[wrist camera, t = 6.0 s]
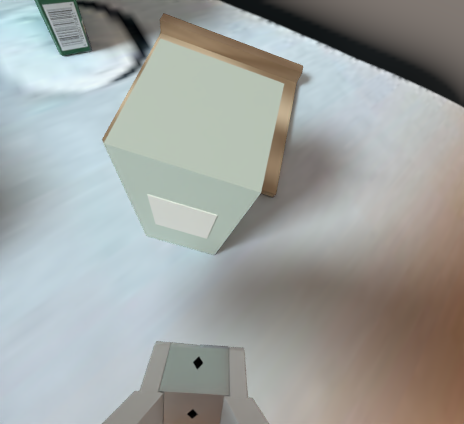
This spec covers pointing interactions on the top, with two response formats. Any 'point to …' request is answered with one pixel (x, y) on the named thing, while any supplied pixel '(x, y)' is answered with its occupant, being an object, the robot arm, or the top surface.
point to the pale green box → (194, 145)
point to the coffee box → (65, 25)
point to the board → (242, 58)
